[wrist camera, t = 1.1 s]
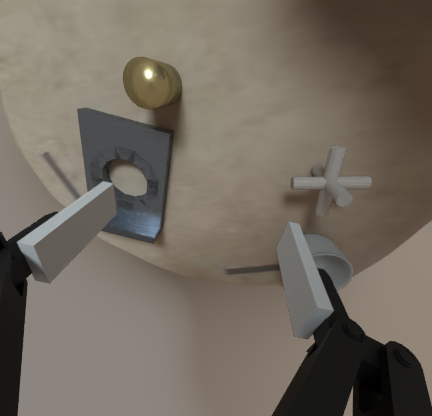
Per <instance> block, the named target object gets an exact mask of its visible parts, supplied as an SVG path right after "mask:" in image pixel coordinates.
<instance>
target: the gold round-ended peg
mask: <svg viewBox="0 0 432 416" xmlns="http://www.w3.org/2000/svg"><path fill="white" fill-rule="evenodd" d="M123 84H124V88H125V91H126V93H127V95H128V96H129V98H130V99H131V100H132V101H133V102H134V103H135V104H136V105H137V106H139V107H141V108H144V109H153V108H157V107H161V106H165V105H168V104H172V103H174V102H176V101H177V100H178V98H179V97H180V95H181V92H182V81H181V78H180V75H179V73H178V72H177V71H176V69H175V68H174V67H172V66H171V65H169V64H166V63H163V62H159V61H156V60H153V59H149V58H146V57H136V58H133V59H132V60H130V61H129V62H128V63H127V65H126V67H125V69H124V72H123Z"/></svg>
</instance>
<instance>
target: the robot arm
mask: <svg viewBox="0 0 432 416" xmlns="http://www.w3.org/2000/svg"><path fill="white" fill-rule="evenodd" d="M116 214H117V211H116V202H115V193H114V183H109V182H104V181H103V182H101V183H100V184H99V185H97V186H96V187H94V188H93V189H92V190H90V191H89V192H87V193H86V194H84V195H83V196H82V197H80V198H79V199H77V200H76V201H74V202H73V203H72V204H70V205H69V206H67V207H66V208H65V209H63V210H62V211H60V212H53V213H51V214H48V215H45V216H44V217H42V218H41V219H39V220H38V221H37V222H35V223H33V224H32V225H31V226H30V227H27V228H26V229H24V230H23V231H21V232H20V233H18V234H17V235H15V236H14V237H12V238H11V239H9V240H8V241H6V240H5V238H4V236H3V234H2V232H0V416H17V414H18V402H19V389H20V375H21V363H22V350H23V337H24V323H25V310H26V296H27V285H28V284H27V280H26V278H27V277H28V276H29V275H30V274H31V273H32V274H33V276H34V279H35V280H36V281H40V282H45V283H49V284H50V283H51V282H52V281H53V280H54V279H55V278H56V276H58V274H59V273H60V272H61V271H62V270H63V269H64V268H65V267H66V266H67V265H68V264H69V263H70V262H71V261H72V260H73V259H74V258H75V257H76V256H77V255H78V254H79V253H80V252H81V250H83V249H84V247H85V246H86V245H87V244H88V243H89V242H90V241H91V240H92V239H93V238H94V237H95V236H96V235H97V234H98V233H99V232H100V231H101V230H102V229H103V228H104V227H105V226H106V225H107V224H108V223H109V222H110V220H111V219H112V218H113V217H114V216H115V215H116ZM276 251H277V256H278V261H279V266H280V271H281V276H282V281H283V286H284V291H285V296H286V301H287V305H288V310H289V316H290V320H291V325H292V331H293V336H294V337H299V338H304V339H309V337H310V336H311V335H312V334H313V336H314V339H315V343H314V344H313V345H312V346H311V347H310V348H309V349H308V350H307V352H308V354H307V355H306V357H305V359H304V360H303V362H302V364H301V366H300V367H299V369H298V371H297V373H296V374H295V376H294V378H293V380H292V381H291V383H290V385H289V386H288V388H287V390H286V392H285V393H284V395H283V397H282V399H281V400H280V402H279V404H278V406H277V407H276V409H275V411H274V412H273V415H272V416H343V414H344V411H345V408H346V405H347V402H348V399H349V396H350V393H351V390H352V387H353V416H432V406H431V402H430V398H429V393H428V390H427V385H426V381H425V377H424V373H423V369H422V367H421V364H420V363H419V361H418V360H417V358H416V357H415V356H414V354H413V353H412V352H410V350H409V349H407V348H406V347H404V346H403V345H402V344H399V343H397V342H395V341H389V342H388V343H387V344H385V345H384V344H382V343H380V342H378V341H376V340H374V339H372V338H370V337H368V336H366V335H365V333H364V331H363V330H362V328H361V327H360V326H359V325H358V324H357V323H356V322H354V321H353V320H351V319H350V318H349V317H348V315H347V312H346V310H345V308H344V306H343V303H342V301H341V299H340V297H339V295H338V293H337V290H336V288H335V286H334V284H333V281H332V279H331V277H330V276H329V275H328V273H327V272H326V271H325V270H324V269H320V268H317V267H316V265H315V262H314V260H313V257H312V255H311V252H310V250H309V247H308V245H307V242H306V240H305V237H304V235H303V232H302V230H301V227H300V225H299V224H298V223H293V222H288V224H287V226H286V229H285V231H284V233H283V235H282V237H281V239H280V241H279V243H278V245H277V247H276Z"/></svg>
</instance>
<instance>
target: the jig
mask: <svg viewBox="0 0 432 416" xmlns="http://www.w3.org/2000/svg"><path fill="white" fill-rule="evenodd" d="M77 111H78V119H79V127H80V135H81V143H82V150H83V158H84V166H85V174H86V182H87V190H88V192H89V191H90V190H92V189H93V188H94V187H96V186H97V185H99V184H100V183H101V182H103V181H104V182H109V183H112V181H111V179H110V178H109V170H108V165H109V164H110V162H111V161H112V160H113V159H116V158H120V159H124V160H127V161H131V162H132V163H133V164H135V165H136V166H137V167H138V168H139V169H141V170H142V172H143V174H144V176H145V178H146V180H147V193H146V194H145V195H141V196H136V197H134V196H131V195H127V194H124V193H123V192H121V191H120V190H119V189H117V188H116V187H115V186H114V193H115V202H116V211H117V214H116V215H115V216H114V217H113V218H112V219H111V220H110V222H109V223H108V224H107V225H106V226H105V227H104V228H103V229H102V230H101V231H105V232H109V233H113V234H117V235H121V236H125V237H129V238H133V239H137V240H141V241H145V242H149V243H153V244H154V242H155V240H156V239H157V237H158V235H159V233H160V231H161V230H162V227H163V218H164V210H165V201H166V192H167V184H168V175H169V166H170V158H171V149H172V140H173V131H170V130H167V129H163V128H159V127H155V126H152V125H148V124H144V123H141V122H137V121H133V120H130V119H126V118H122V117H119V116H115V115H111V114H107V113H104V112H100V111H96V110H93V109H89V108H81V109H77Z"/></svg>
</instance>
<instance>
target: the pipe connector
mask: <svg viewBox="0 0 432 416" xmlns="http://www.w3.org/2000/svg"><path fill="white" fill-rule="evenodd" d="M345 151H346V147H343V146H331V147H330V150H329V154H328V159H327V163H326V167H325V168H324V167H323V166H321V165H316V166H314V167H313V169H312V174H313V175H314V176H315V177H292V178H291V189H292V190H320V193H319V197H318V201H317V205H316V210H315V214H317V215H319V216H323V217H324V216H327V215H328V213H329V209H330V205H331V202H332V199H333V200H334V201H335V202H336V204H337V205H338V206H340V207H345V206H348V205H350V204H351V203H352V201H353V196H352V195H351V194H350V193H349V192H348V191H347V190H346V189H369V188H370V187H371V184H372V180H371V178H370V177H369V176H340V177H339V173H340V169H341V166H342V162H343V159H344V155H345Z"/></svg>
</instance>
